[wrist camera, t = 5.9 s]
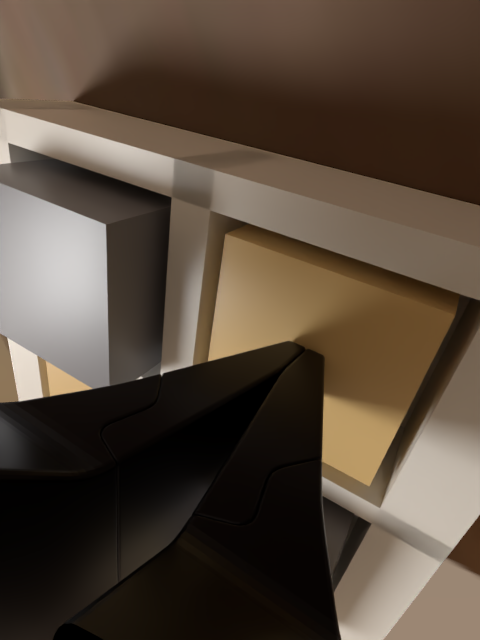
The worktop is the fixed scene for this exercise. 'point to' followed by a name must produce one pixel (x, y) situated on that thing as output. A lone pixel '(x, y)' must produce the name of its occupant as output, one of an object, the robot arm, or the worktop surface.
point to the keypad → (332, 234)
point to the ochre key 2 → (334, 333)
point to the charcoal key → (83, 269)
